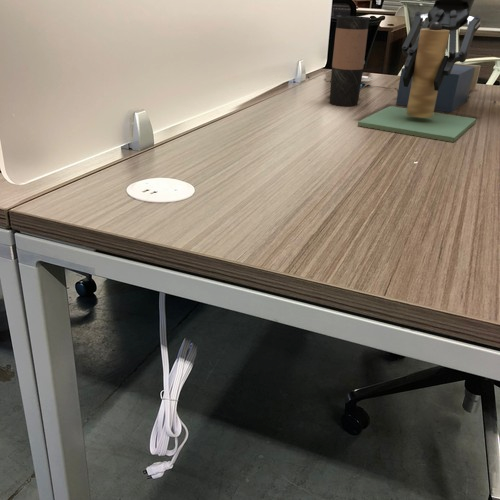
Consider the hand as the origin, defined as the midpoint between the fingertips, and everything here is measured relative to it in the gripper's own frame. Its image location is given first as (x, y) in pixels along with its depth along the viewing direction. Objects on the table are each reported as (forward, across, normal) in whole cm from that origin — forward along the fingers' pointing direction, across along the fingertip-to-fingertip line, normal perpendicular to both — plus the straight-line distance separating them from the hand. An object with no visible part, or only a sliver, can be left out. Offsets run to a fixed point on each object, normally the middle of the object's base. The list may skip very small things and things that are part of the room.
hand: (420, 84), depth 104 cm
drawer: (-26, +4, -37) cm, 45 cm away
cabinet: (-15, +4, -27) cm, 31 cm away
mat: (+4, 0, -9) cm, 10 cm away
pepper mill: (+2, 0, -7) cm, 8 cm away
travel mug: (-3, +22, -16) cm, 27 cm away
